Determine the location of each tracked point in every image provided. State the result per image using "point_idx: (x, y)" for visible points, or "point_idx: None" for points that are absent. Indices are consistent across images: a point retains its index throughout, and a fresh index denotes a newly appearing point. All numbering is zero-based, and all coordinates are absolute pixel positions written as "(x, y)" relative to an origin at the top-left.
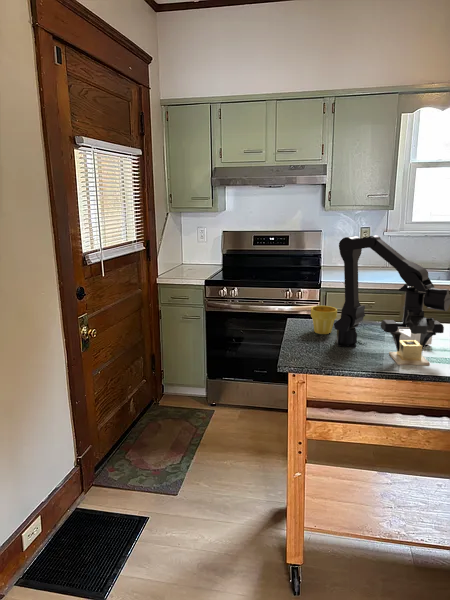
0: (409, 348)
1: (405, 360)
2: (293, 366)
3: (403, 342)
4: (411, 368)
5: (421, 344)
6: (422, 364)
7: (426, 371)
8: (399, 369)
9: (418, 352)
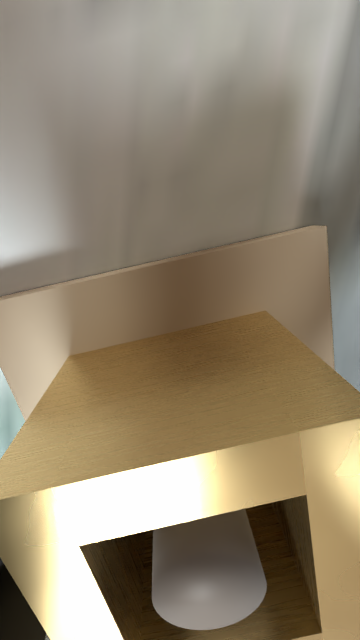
0: (235, 404)
1: (234, 310)
2: None
3: (326, 584)
4: (186, 133)
5: (10, 603)
6: (58, 283)
7: (13, 62)
8: (333, 51)
9: (81, 401)
